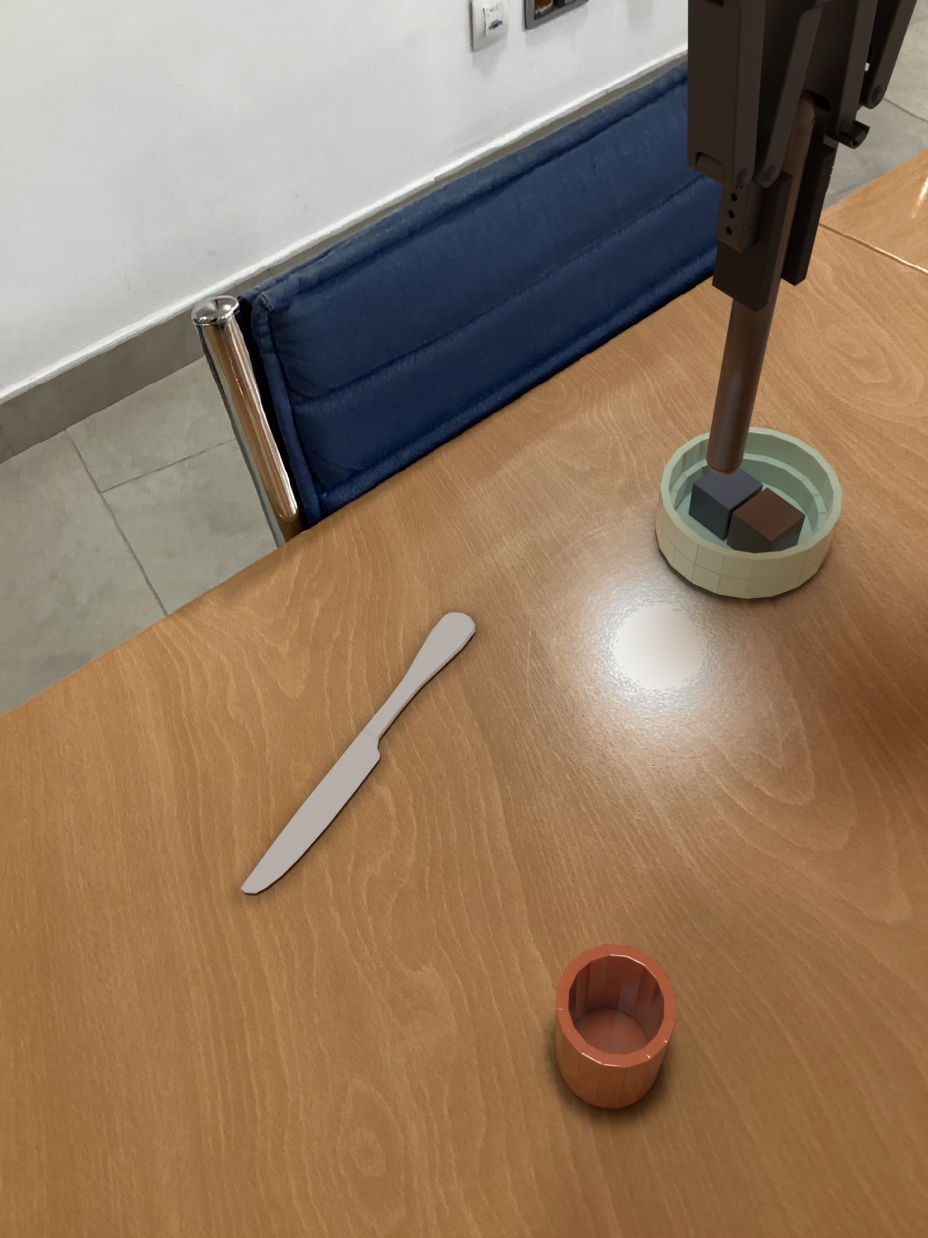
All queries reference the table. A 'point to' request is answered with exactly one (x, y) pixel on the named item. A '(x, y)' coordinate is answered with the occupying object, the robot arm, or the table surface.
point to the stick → (754, 323)
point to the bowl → (776, 467)
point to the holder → (613, 1024)
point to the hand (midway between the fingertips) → (758, 281)
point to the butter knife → (358, 755)
